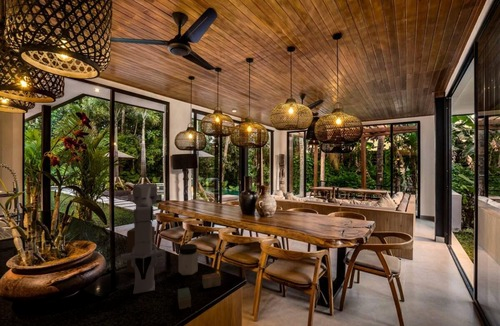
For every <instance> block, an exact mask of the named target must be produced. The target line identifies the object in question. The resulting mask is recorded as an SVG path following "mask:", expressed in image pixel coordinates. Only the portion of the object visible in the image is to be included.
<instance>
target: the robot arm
mask: <svg viewBox="0 0 500 326" xmlns="http://www.w3.org/2000/svg"><path fill="white" fill-rule="evenodd" d="M132 196H133V203H134V205H135V208H133V214H132V215H133V223H134V224H133V225H134V226H133V228H134V229H135V246H134V247H133V249H132V253H127V252H126V253H122V254H120V262H125V261H127V260H131V266H132V267H133V268H134V266H135V269H134V270H135V273H134V286H133V292H132V293H133V295H136V294H141V293H142V294H143V293H147V292H148V293H149V292H153V291H155V290H156V286H155V285H156V282H155V266H156V265H157V263H158V258H159V257H166V250H165V249H158V245H157V244H156V243H155V244H154V243H152V226H153V222H154V207H153V205H155V204H156V203H157V199H158V198H157V196H158V185H157V183H155V182H154V183H134V184H133V187H132Z"/></svg>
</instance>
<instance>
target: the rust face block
mask: <svg viewBox="0 0 500 326" xmlns="http://www.w3.org/2000/svg"><path fill="white" fill-rule="evenodd" d="M221 278H222V277H221V275H220V273H219V272H214V273H208V274H207V273H206V274H202V275H201V280H202V281H201V284H202V286H203V289H208V288H213V287H219V286H221V284H222V282H221Z"/></svg>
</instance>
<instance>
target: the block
mask: <svg viewBox="0 0 500 326" xmlns="http://www.w3.org/2000/svg"><path fill="white" fill-rule="evenodd" d="M155 233H156V227H155V226H154V225H152V243H154V244H155V245H156V243H155V242H156V241H155V240H156V236H155V235H156V234H155ZM134 246H135V229H134V227H133V228H131V229H128V230H127V232H126V254H127V253H132V249H133V247H134ZM134 269H135V266H134V268H133V267H132V266H131V260H126V273H127V274H128V273H129V274H135V270H134Z"/></svg>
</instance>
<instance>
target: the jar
mask: <svg viewBox="0 0 500 326" xmlns="http://www.w3.org/2000/svg"><path fill="white" fill-rule="evenodd" d="M197 249H198V245H197V244H194V243H186V244H185V243H184V244H182V245H180V246H179V249H178V250H179V251H178V273H179V274H180V275H181V276H191V275H192V276H193V275H194V274H195V273H197V272H198V270H199V268H198V265H199V264H198V263H199V261H198V260H199V259H198V258H199V251H198V250H197Z"/></svg>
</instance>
